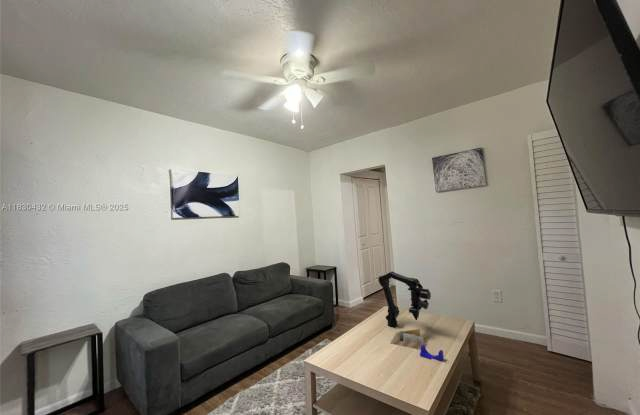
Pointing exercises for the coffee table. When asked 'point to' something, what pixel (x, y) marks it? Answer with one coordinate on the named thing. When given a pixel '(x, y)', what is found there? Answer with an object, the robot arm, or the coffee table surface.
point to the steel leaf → (411, 338)
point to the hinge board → (407, 344)
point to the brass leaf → (412, 332)
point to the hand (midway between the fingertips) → (417, 318)
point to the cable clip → (428, 355)
